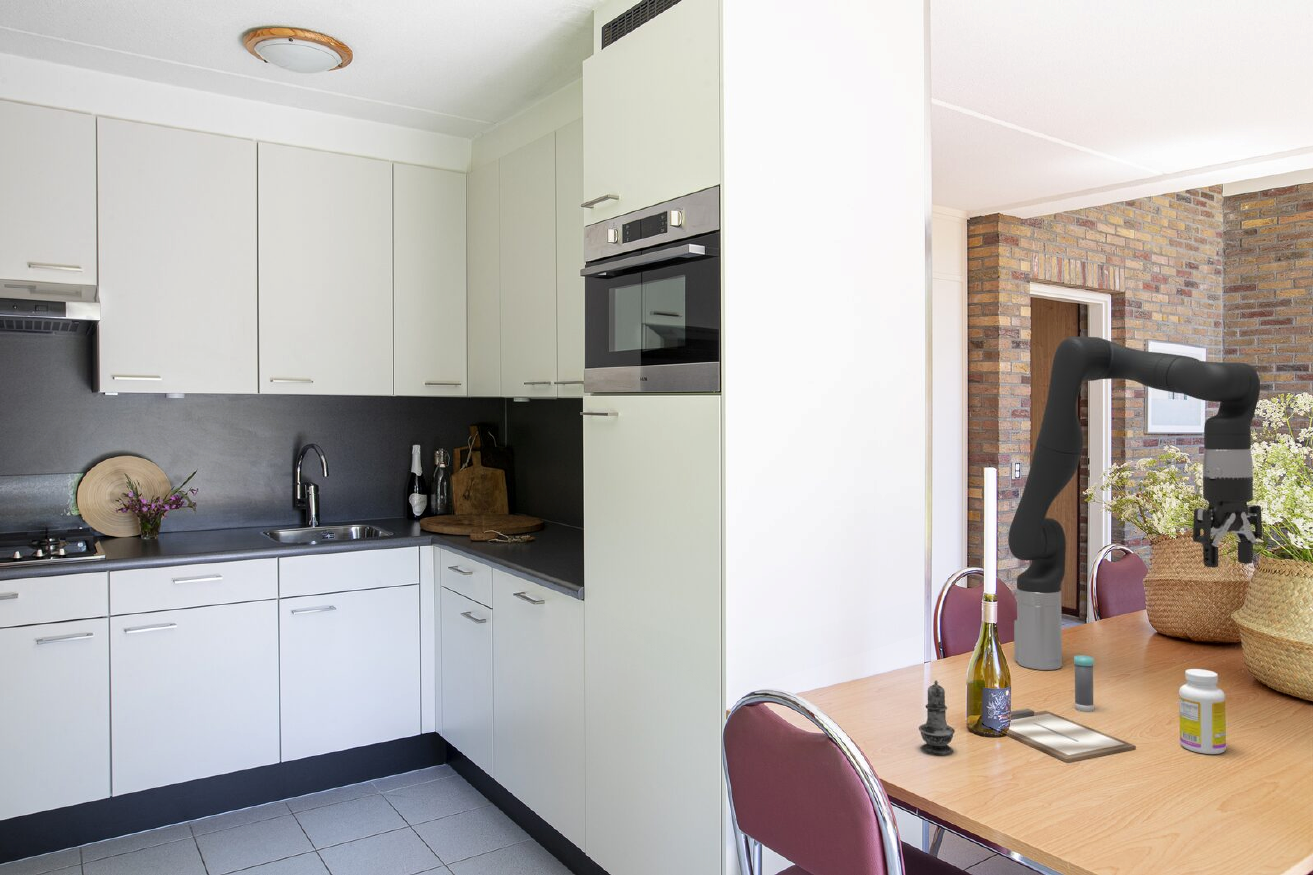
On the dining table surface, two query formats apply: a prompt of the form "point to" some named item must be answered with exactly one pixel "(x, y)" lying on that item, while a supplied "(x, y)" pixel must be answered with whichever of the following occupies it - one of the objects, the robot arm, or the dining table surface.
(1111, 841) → the dining table surface
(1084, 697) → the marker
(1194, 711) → the supplement bottle
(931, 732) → the salt shaker
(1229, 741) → the dining table surface
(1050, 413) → the robot arm
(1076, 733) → the clipboard
